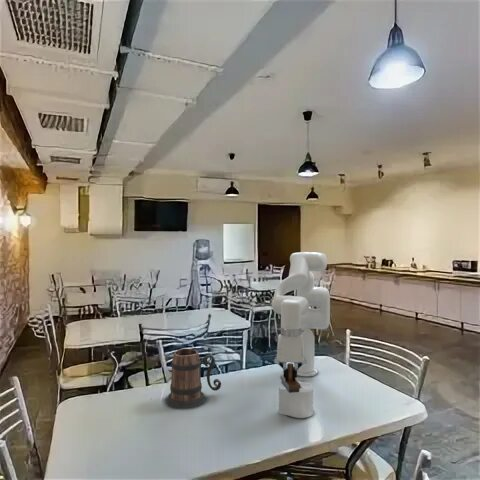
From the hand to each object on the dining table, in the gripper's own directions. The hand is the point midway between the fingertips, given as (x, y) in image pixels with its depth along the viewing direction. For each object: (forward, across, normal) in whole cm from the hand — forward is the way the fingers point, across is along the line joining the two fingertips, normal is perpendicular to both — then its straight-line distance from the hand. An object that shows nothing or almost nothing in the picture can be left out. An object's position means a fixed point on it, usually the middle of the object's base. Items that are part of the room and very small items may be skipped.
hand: (290, 379), depth 158 cm
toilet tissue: (+13, -3, 0) cm, 14 cm away
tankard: (+13, +39, -11) cm, 43 cm away
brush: (+3, 0, 0) cm, 3 cm away
